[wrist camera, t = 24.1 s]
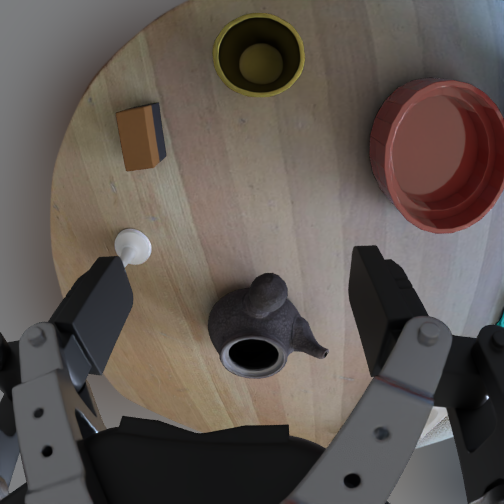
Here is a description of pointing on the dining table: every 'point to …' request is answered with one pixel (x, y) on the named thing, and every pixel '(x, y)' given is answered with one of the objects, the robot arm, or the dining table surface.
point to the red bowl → (439, 153)
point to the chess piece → (132, 247)
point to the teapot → (260, 329)
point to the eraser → (141, 136)
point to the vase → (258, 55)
